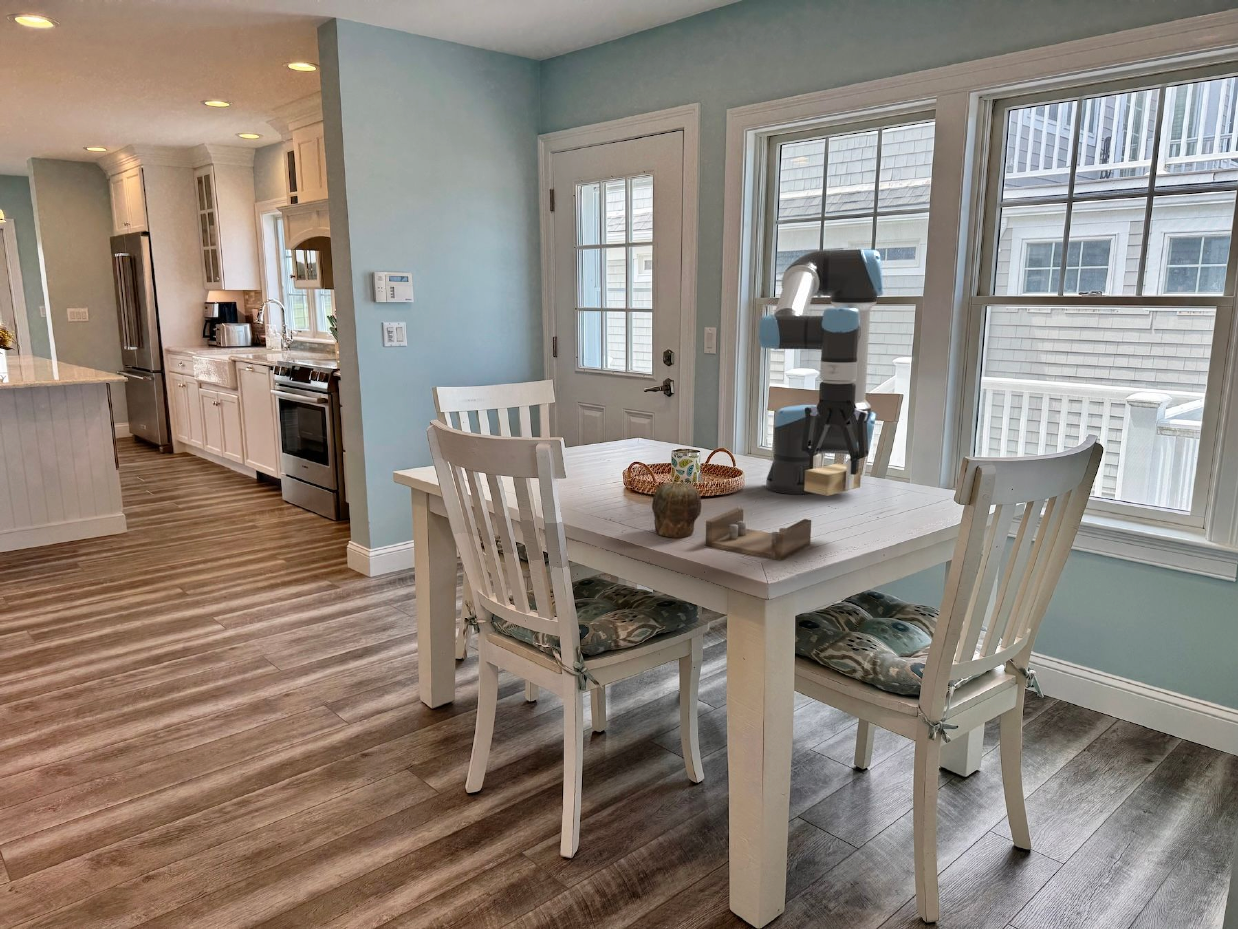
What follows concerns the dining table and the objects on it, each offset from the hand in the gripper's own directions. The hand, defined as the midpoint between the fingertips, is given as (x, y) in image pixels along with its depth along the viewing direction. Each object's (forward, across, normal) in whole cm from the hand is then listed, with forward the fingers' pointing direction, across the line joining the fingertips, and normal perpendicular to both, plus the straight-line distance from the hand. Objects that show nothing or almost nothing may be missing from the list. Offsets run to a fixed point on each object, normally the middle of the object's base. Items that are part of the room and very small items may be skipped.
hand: (832, 486), depth 182 cm
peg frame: (+12, -11, -13) cm, 21 cm away
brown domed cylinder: (+12, -30, -16) cm, 36 cm away
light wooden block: (+1, 0, 0) cm, 1 cm away
